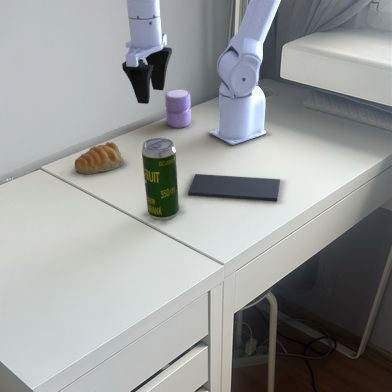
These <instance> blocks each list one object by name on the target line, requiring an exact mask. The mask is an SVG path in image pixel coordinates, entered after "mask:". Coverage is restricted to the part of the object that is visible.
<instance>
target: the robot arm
mask: <svg viewBox="0 0 392 392" xmlns="http://www.w3.org/2000/svg"><path fill="white" fill-rule="evenodd" d="M281 1H282V0H249V2H248V4H247V6H246V10H245V12H244V15H243V18H242V20H241V23H240V26H239V28H238V31H237V32H236V34H235V35H233V36H232V38H230V40H229V43H228V44H227V47H226V49H225V50H224V51H223V52H222V53H221V54H220V56H219V57H218V59H217V63H216V72H217V75H218V76H219V78H220V79H221V83H220V86H219V88H218V89H219V90H218V128H216V129H213V130H211V131H210V134H211V135H212V136H213V137H216V138H218V139H220V140H222V141H224V142H226V143H228V144H229V145H232V146H234V145H237V144H240V143H243V142H246V141H249V140H252V139H255V138H258V137H261V136H264V135H266V134H267V131H266V130H265V117H266V97H265V94H264V91H263V90H262V89H261V88H260V87H259V86H258V84H259V80H260V67H261V65H262V62H263V45H264V42H265V40H266V37H267V35H268V32H269V30H270V28H271V25H272V23H273V21H274V18H275V16H276V13H277V11H278V8H279V6H280V3H281ZM126 6H127V7H126V8H127V17H128V26H129V37H130V40H128V41H126V43H125V47H126V48H127V49H128V51H127V52H126V53H125V55H124V56H125V61H124V62H122V63H121V68H122V71H123V73H124V74H125V75H126V77H127V78H128V80H129V82H130V85H131V87H132V89H133V92H134V95H135V96H134V97H135V99H136V101H137V103H138V104H144V105H148V104H149V103H150V97H151V94H150V93H151V87H152V90H154V91H164V89H165V85H166V77H167V71H168V66H169V61H170V60H171V59H170V58H171V57H172V54H173V48H172V47H166V46H167V45H168V42H167V41H168V40H167V33H163V32H162V23H161V9H160V8H161V7H160V0H126ZM144 59H145V62H144Z"/></svg>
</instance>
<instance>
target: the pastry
mask: <svg viewBox="0 0 392 392" xmlns="http://www.w3.org/2000/svg"><path fill="white" fill-rule="evenodd" d="M124 161H125V159H124V157H123V154H122V152H121V151H120V149H119V146H118V145H117V144H116V143H114V142H113V141H106V142H105V144H98V145H95V146H92V147H90V148H89V150H87V151H86V152H85V153H82V154H80V156H78V157H77V158H76V159H75V161H74V170H75V171H76V172H79V173H82V174H86V175H93V174H96V173H97V174H98V173H99V174H100V173H103V172H108V171H111V170H113V169H114V170H116V169H119V168H120V167H122V166H123V164H124Z"/></svg>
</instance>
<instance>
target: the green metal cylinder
mask: <svg viewBox="0 0 392 392" xmlns="http://www.w3.org/2000/svg"><path fill="white" fill-rule="evenodd" d="M141 160H142V168H143V178H144V188H145V189H144V190H145V198H146V207H147V214H148V215H149V216H150V218H152V219H153V220H156V221H169V220H172V219H174V218H175V217H176V216H178V212H179V210H180V206H179V205H180V204H179V203H180V202H179V188H178V170H177V169H178V168H177V151H176V147H175V143H174V141H173V140H172V139H170V138H166V137H154V138H153V137H152V138H150V139H146V140H145V141H143V143H142V149H141Z"/></svg>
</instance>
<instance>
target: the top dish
mask: <svg viewBox="0 0 392 392" xmlns="http://www.w3.org/2000/svg"><path fill="white" fill-rule="evenodd" d="M191 103H192V101H191V92H190V91H189V90H187V89H181V88H177V89H176V88H175V89H170V90H167V91H166V92H165V93H164V104H165V105H164V106H165V107H164V108H165V109H166V108H167V109H168V110H169V111H170V112H174V113H181V112H185V111H187V110H188V109H189V108H191V105H192V104H191Z"/></svg>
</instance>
